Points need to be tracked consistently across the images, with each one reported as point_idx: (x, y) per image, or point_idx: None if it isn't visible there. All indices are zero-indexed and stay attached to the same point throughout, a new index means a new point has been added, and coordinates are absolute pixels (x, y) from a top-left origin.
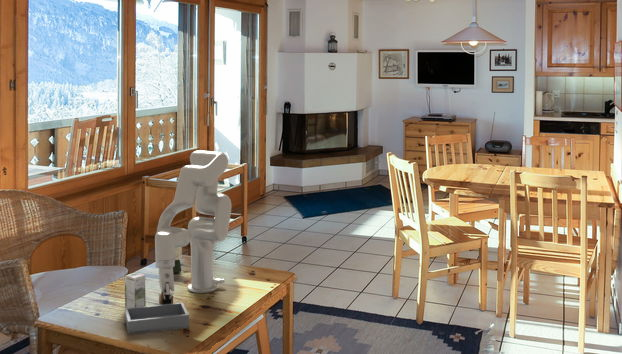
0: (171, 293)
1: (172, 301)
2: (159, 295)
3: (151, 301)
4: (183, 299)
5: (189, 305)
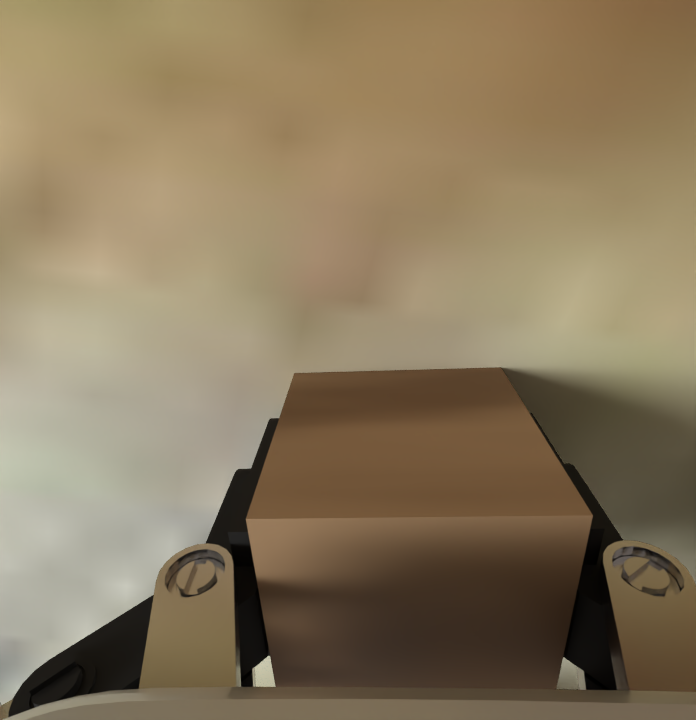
0: (334, 526)
1: (537, 448)
2: None
3: (140, 589)
4: (63, 136)
5: (457, 42)
